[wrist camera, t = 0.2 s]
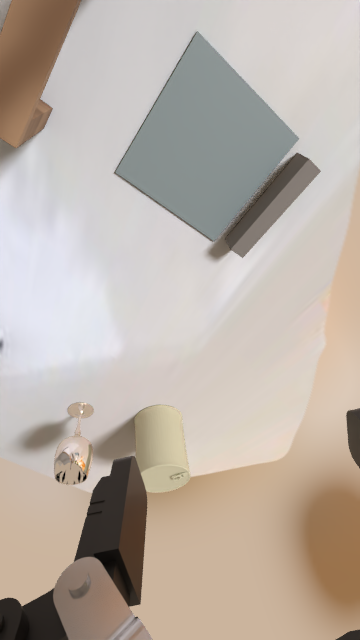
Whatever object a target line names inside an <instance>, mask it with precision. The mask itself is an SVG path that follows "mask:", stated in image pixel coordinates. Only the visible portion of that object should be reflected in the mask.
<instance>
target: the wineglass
mask: <svg viewBox="0 0 360 640" xmlns="http://www.w3.org/2000/svg"><path fill="white" fill-rule="evenodd" d="M93 412H94V409H93V407H92V406H91V405H89V404H87V403H83V402H78V403H74V404H72V405H70V406H69V408H68V413H69V414H70V415H71V416H73V417H75V418H78V424H77V428H76V430H75V432H74V433H75V436H70V437H68V438H65V439H64V440H63V441H62V442H61V443H60V444H59V445H58V447H57V450H56V453H55V458H54V474H55V479H56V481H58V482H60V483H62V484H67V485H74V484H79V483H82V482H84V481H85V480H86V479H87V477H88V474H89V471H90V468H91V465H92V461H93V446H92V444H91V442H90V441H89V440H88V439H87V438H85V437H82V436H80V434H81V430H80V422H81V418H87V417H89V416H91V415H92V414H93Z"/></svg>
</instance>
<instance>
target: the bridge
mask: <svg viewBox="0 0 360 640" xmlns="http://www.w3.org/2000/svg"><path fill="white" fill-rule="evenodd" d="M80 2H81V0H12V1H11V4H10V7H9V10H8V13H7V16H6V19H5V22H4V25H3V28H2V31H1V34H0V138H1V139H2V140H4V141H6V142H7V143H9V144H10V145H12V146H13V147H15V148H17V147H19V146H20V145H21V144H23V143H24V142H26V141H27V140H28V139H30V138H31V137H33V136H34V135H35V134H37V133H38V132H39V131H41V130H42V129H44V127H45V125H46V122H47V120H48V118H49V116H50V113H51V111H52V109H53V108H52V107H50V106H49V105H47V104H46V103H45V102H43V101H42V100H41V99H40V98H41V95H42V93H43V90H44V88H45V86H46V83H47V81H48V79H49V76H50V74H51V71H52V69H53V67H54V64H55V62H56V60H57V57H58V55H59V52H60V50H61V48H62V45H63V43H64V40H65V38H66V36H67V33H68V31H69V29H70V26H71V24H72V21H73V19H74V17H75V14H76V12H77V10H78V7H79V5H80Z"/></svg>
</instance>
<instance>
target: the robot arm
mask: <svg viewBox="0 0 360 640" xmlns="http://www.w3.org/2000/svg"><path fill="white" fill-rule="evenodd" d="M346 416H347V431H348V443H349V449H350V452H351V455H352V457H353V459H354V461H355V462H356V464H357V465H358V466H359V468H360V408H359V409H355V410H350V411H348V412H347V415H346ZM146 515H147V495H146V489H145V485H144V482H143V479H142V476H141V473H140V470H139V467H138V464H137V461H136V458H135V456H130V457H125V458H120V459H116V460H114V461H113V465H112V469H111V474H110V476H106V477H102V478H101V479H100V481H99V482H98V484H97V485H96V487H95V488H94V490H93V493H92V497H91V501H90V506H89V508H88V512H87V517H86V519H85V523H84V527H83V530H82V534H81V538H80V541H79V545H78V549H77V553H76V556H75V560H74V562H73V563H72V564H71V565H69V566H68V567H67V568H66V569H65V571H64V572H63V573H62V574H61V576H60V577H59V579H58V581H57V583H56V585H55V588H54V589H52V590H51V591H49V592H48V593H46V594H44V595H42V596H40V597H39V598H37V599H35V600H33V601H31V602H30V603H28V604H26V605H24V606H21V604H20V603H19V601H18V600H16V599H14V598H5V599H2V600H0V640H153V639H152V638H151V636H150V634H149V633H148V631H147V630H146V628H145V626H144V625H143V623H142V622H141V621H140V619H139V618H138V617H135V616H134V615H133V613H132V611H131V610H130V608H129V606H134V605H139V604H140V602H141V587H142V572H143V557H144V544H145V530H146V529H145V528H146ZM336 640H360V630H355V631H350V632H348V633H346V634H344V635H343V636H341V637H340V638H338V639H336Z"/></svg>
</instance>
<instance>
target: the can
mask: <svg viewBox="0 0 360 640" xmlns="http://www.w3.org/2000/svg"><path fill="white" fill-rule="evenodd" d="M134 425H135V448H136V461H137V464H138V467H139V470H140V473H141V476H142V479H143V482H144V485H145V489H146V491H148V492H158V493H159V492H167V491H172V490H175V489H178V488H180V487H182V486H183V485H185V484H186V483H187V482H188V481H189V479H190V471H189V466H188V459H187V453H186V446H185V439H184V432H183V425H182V414H181V413H180V411H179V410H177V409H176V408H174V407H172V406H167V405H155V406H150V407H147V408H145V409H143V410H142V411H140V412H139V413H138V414H137V415H136V417H135V419H134Z"/></svg>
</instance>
